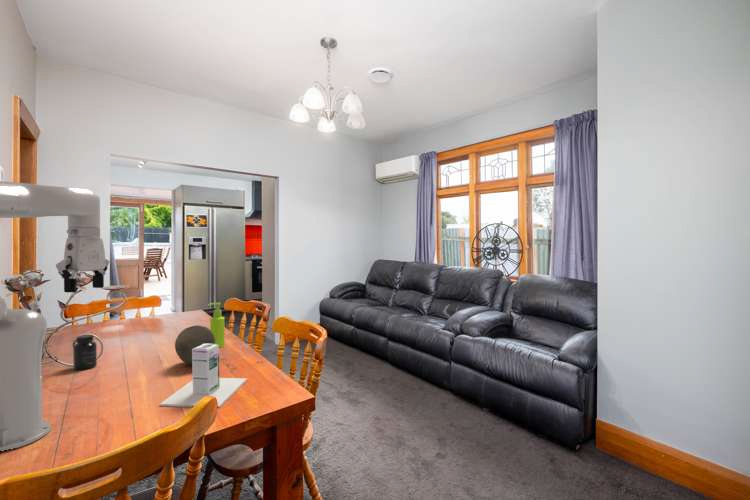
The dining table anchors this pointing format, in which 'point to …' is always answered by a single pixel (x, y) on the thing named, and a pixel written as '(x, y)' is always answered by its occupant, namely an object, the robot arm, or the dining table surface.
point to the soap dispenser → (218, 325)
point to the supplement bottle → (84, 353)
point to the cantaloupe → (192, 341)
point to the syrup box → (205, 368)
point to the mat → (189, 398)
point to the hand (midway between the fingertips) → (84, 289)
